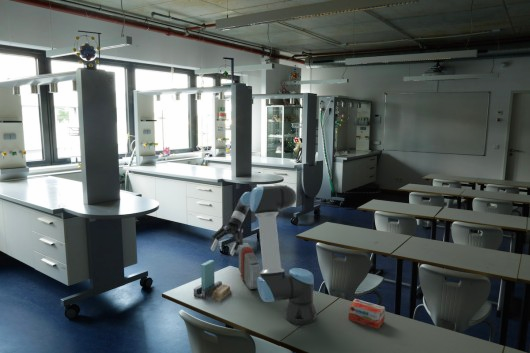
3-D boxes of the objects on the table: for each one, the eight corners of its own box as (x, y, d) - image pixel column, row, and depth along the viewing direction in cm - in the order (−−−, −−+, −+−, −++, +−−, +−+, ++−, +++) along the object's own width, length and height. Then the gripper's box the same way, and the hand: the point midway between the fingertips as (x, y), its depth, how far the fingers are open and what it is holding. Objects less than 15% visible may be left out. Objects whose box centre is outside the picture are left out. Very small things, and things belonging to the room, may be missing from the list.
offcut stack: (231, 293, 219) (231, 286, 218) (219, 302, 209) (219, 294, 208) (222, 291, 221) (222, 284, 220) (211, 299, 212) (210, 291, 211)
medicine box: (384, 322, 191) (385, 306, 189) (379, 329, 184) (380, 313, 183) (354, 313, 199) (354, 298, 197) (347, 320, 192) (348, 304, 191)
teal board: (214, 289, 222) (214, 260, 220) (205, 295, 216) (204, 265, 213) (211, 288, 224) (210, 259, 221) (201, 294, 217) (201, 264, 214)
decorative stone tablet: (237, 242, 241) (250, 264, 213) (248, 241, 243) (262, 263, 215) (237, 271, 246) (250, 297, 218) (247, 270, 247) (261, 295, 220)
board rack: (222, 288, 224) (221, 281, 223) (204, 299, 212) (204, 292, 211) (211, 285, 228) (211, 278, 227) (193, 295, 215) (193, 288, 215)
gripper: (256, 226, 234) (242, 259, 223) (222, 220, 246) (207, 251, 236) (252, 220, 228) (237, 253, 218) (217, 213, 241) (201, 245, 231)
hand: (221, 252), depth 227 cm, fingers open, 13 cm apart
